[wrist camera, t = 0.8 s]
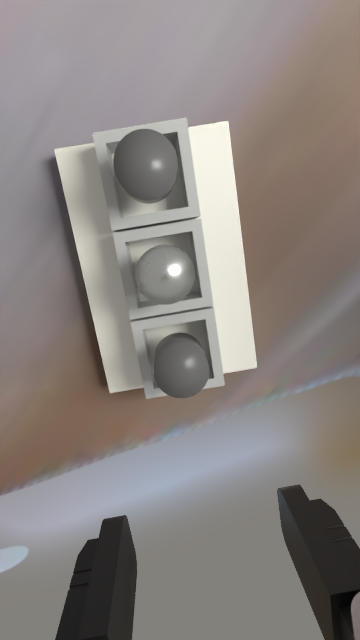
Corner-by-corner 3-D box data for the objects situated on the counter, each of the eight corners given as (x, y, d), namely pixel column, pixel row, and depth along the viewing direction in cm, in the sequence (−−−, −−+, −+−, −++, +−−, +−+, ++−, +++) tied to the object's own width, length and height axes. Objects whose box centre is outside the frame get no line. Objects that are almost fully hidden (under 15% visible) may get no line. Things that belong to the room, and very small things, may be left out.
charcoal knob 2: (199, 328, 27) (205, 341, 24) (207, 374, 28) (213, 392, 25) (150, 337, 27) (149, 350, 24) (159, 382, 28) (158, 402, 25)
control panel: (223, 128, 29) (236, 106, 24) (251, 360, 34) (266, 380, 29) (61, 155, 29) (41, 138, 24) (112, 384, 34) (104, 408, 29)
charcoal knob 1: (170, 140, 24) (172, 123, 21) (179, 198, 25) (182, 192, 22) (114, 149, 24) (107, 134, 21) (126, 207, 25) (120, 202, 22)
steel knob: (186, 240, 26) (189, 239, 22) (194, 292, 27) (198, 299, 23) (133, 249, 26) (129, 250, 22) (143, 300, 27) (141, 309, 23)
